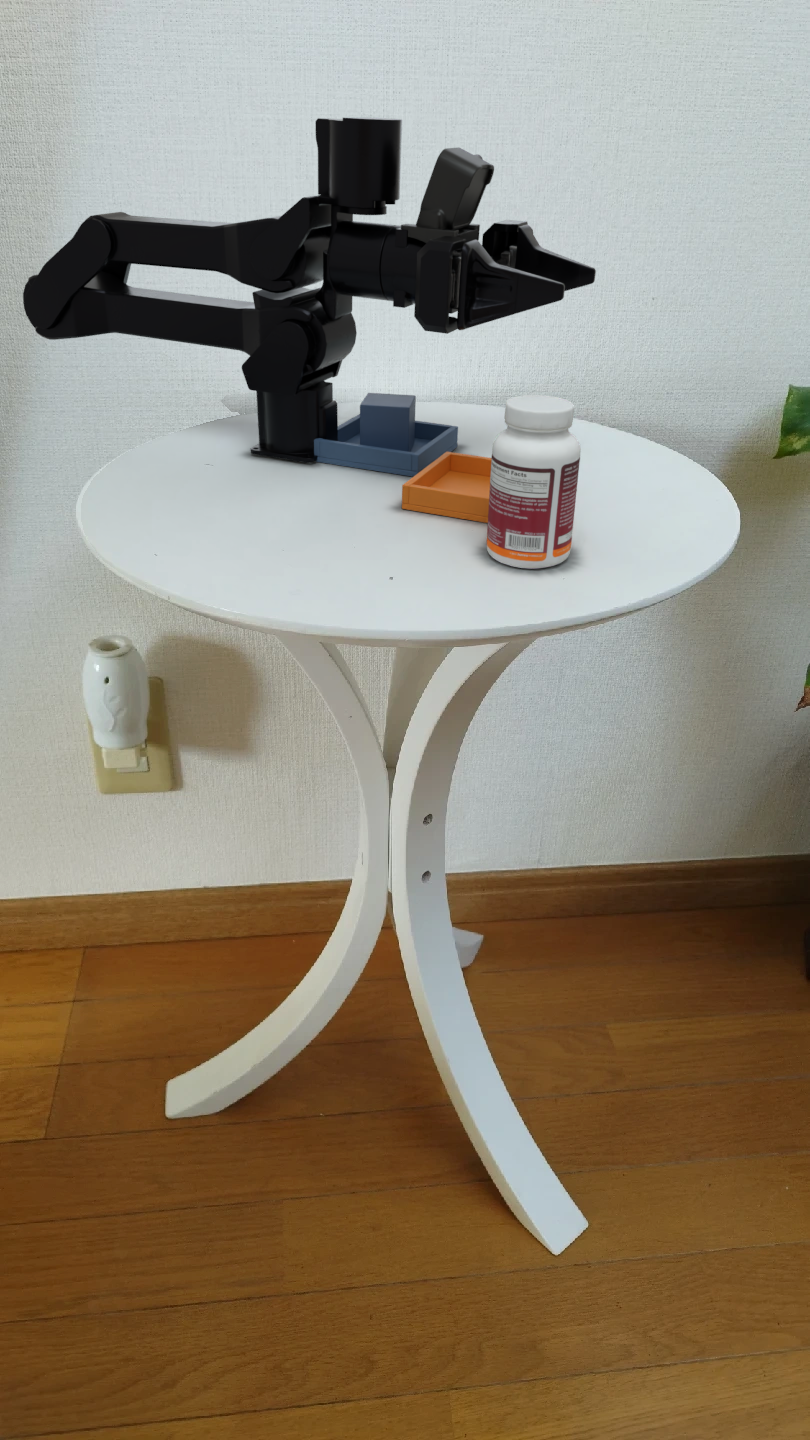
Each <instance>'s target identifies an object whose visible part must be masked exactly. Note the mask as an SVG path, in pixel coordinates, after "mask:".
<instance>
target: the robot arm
mask: <svg viewBox="0 0 810 1440" xmlns="http://www.w3.org/2000/svg"><path fill="white" fill-rule="evenodd" d="M402 132H403V119H402V118H392V117H391V118H390V117H375V116H373V117H372V116H370V117H369V116H366V117H342V118H332V117H331V118H330V117H329V118H328V117H327V118H325V117H324V118H319V117H318V118H317V119H316V120H315V142H316V147H317V195H311V196H310V195H309V196H304V197H302V198H300V199H299V200H298V201H296V203H295V204H293V205H292V206H291V207H290V208H289V209H288V210H287V211H286V212H284V213H283V214H282V215H277V216H276V215H275V216H271V217H265V218H257V219H251V220H245V221H237V222H227V221H225V222H223V221H212V220H199V219H198V220H197V219H184V218H183V219H182V218H168V217H156V216H155V217H154V216H144V215H143V216H141V215H131V214H128V213H126V212H123V211H116V212H108V213H101V214H100V213H99V214H94V215H89V216H88V217H87V218H86V219H85V220H84V221H83V222H82V223H81V224H80V225H79V227H78V228H77V230H76V232H75V233H74V235H73V237H72V238H71V239H70V240H68V242H67V243H65V244H64V245H63V246H62V247H61V248H60V249H59V250H58V251H57V252H56V253H55V254H54V255H53V256H52V257H50V258H49V259H48V260H47V261H46V262H45V264H43V266H42V267H41V269H40V271H39V272H38V273H37V274H33V275H31V276H30V277H28V278H27V282H26V283H25V284H24V287H23V293H22V303H23V304H22V305H23V308H24V313H25V315H26V317H27V319H28V321H29V323H30V324H31V325H32V327H33V328H34V330H35V333H36V334H37V335H39V336H40V337H42V338H44V339H46V340H53V341H56V340H67V339H78V338H86V337H93V336H99V335H106V334H122V335H129V336H135V337H136V336H137V337H141V338H148V339H149V338H150V339H156V340H164V341H171V342H178V343H185V344H186V343H187V344H192V345H199V346H206V347H212V348H213V347H214V348H219V349H227V350H234V351H240V352H242V353H245V354H246V355H248V356H249V357H248V358H247V359H246V360H245V361H244V362H243V363H242V364H241V371H242V374H243V377H244V379H245V382H246V385H247V388H248V390H249V391H253V392H254V391H255V393H256V411H257V425H258V426H257V428H258V429H257V430H258V443H257V444H255V445H254V446H252V447H250V450H249V451H250V454H251V455H254V456H255V455H256V456H260V457H261V456H262V457H270V458H275V459H282V460H286V461H287V460H288V461H292V462H293V461H294V462H301V463H308V464H313V463H315V462H316V460H317V457H318V456H317V455H314V440H315V439H317V438H322V439H325V440H332V441H338V426H339V424H338V423H339V422H338V421H339V420H338V417H339V416H338V402H337V400H334V398H333V397H334V392H333V391H334V390H333V385H334V384H333V382H329V381H327V380H329V379H331V378H336V377H338V375H339V372H340V369H341V366H342V363H343V360H344V359H346V358H347V357H348V355H350V354H351V352H352V351H353V348H354V346H355V344H356V341H357V340H356V339H357V334H358V333H357V326H356V321H355V318H354V316H353V313H352V312H353V298H354V297H355V298H362V299H372V300H379V301H386V302H387V301H388V302H392V307H394V308H402V309H405V308H407V307H411V306H414V315H413V316H414V318H415V320H416V321H417V323H419V325H420V326H421V327H422V329H423V330H424V331H425V332H431V333H440V334H446V335H447V334H451V333H453V332H455V331H457V330H458V331H464V330H467V329H470V328H473V327H476V326H479V325H483V324H486V323H489V322H493V321H496V320H499V319H503V318H506V317H510V316H512V315H516V314H519V313H523V312H526V311H529V310H534V309H537V308H540V307H543V306H546V305H547V306H548V305H550V304H554V303H557V302H560V301H563V300H564V297H565V292H567V291H570V290H575V289H578V288H582V287H586V286H588V285H589V286H590V285H592V284H594V283H595V281H596V274H597V270H596V268H595V267H592V266H590V265H588V264H585V263H582V262H580V261H576V260H574V259H572V258H569V257H567V256H563V255H562V254H558V253H556V252H554V251H551V250H549V249H547V248H544V247H542V246H541V245H540V243H539V241H538V240H537V238H536V237H535V234H534V229H533V228H532V227H531V225H529V223H528V220H527V221H526V220H525V221H524V220H515V219H504V220H500V221H496V222H493V223H492V224H491V226H489V227H488V228H487V229H486V230H485V232H483V234H482V241H481V242H482V243H481V242H480V241H479V240H480V229H481V225H480V224H478V223H472V222H473V220H474V218H475V216H476V213H477V211H478V208H479V205H480V203H481V200H482V198H483V195H484V193H485V191H486V188H487V186H488V185H490V184H491V182H492V179H493V176H494V173H495V165H494V164H492V163H489V162H488V161H486V160H484V159H483V157H482V155H480V154H476V153H475V154H473V153H471V152H469V151H467V150H465V149H464V148H461V147H448V148H447V147H446V148H444V149H442V151H441V152H440V153H439V155H438V157H437V158H436V161H435V163H434V166H433V170H432V171H431V172H432V173H431V174H430V177H429V180H428V183H427V186H426V189H425V192H424V195H423V197H422V201H421V204H420V209H419V213H418V215H417V221H416V223H403V224H401V225H400V224H391V223H390V224H388V223H379V222H369V221H368V222H367V221H359V220H358V221H357V220H354V215H356V216H357V215H358V216H384V215H387V212H388V206H387V205H396V201H399V200H400V198H401V197H400V196H401V195H400V194H401V168H402V167H401V165H402V164H401V163H402V136H403V135H402V134H403V133H402ZM132 265H143V266H154V267H162V268H163V267H164V268H175V269H176V268H177V269H186V270H196V271H197V270H199V271H209V272H217V273H220V274H223V275H227V276H229V277H231V278H232V279H234V280H235V281H237V282H239V283H240V284H243V285H246V286H250V287H251V288H252V287H253V288H256V289H259V290H256V291H253V292H252V299H253V300H252V301H247V300H246V301H245V300H237V299H229V298H222V297H214V296H207V295H206V296H205V295H198V294H191V293H181V292H175V291H166V290H157V289H151V288H150V289H149V288H142V287H141V288H140V287H134V286H131V285H128V284H127V283H128V279H129V276H130V272H131V268H132V267H131V266H132ZM320 282H322V284H321V287H318V288H306V287H308V286H311V285H315V284H318V283H320ZM454 313H457V315H456V317H455V316H450V315H451V314H454Z"/></svg>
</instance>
